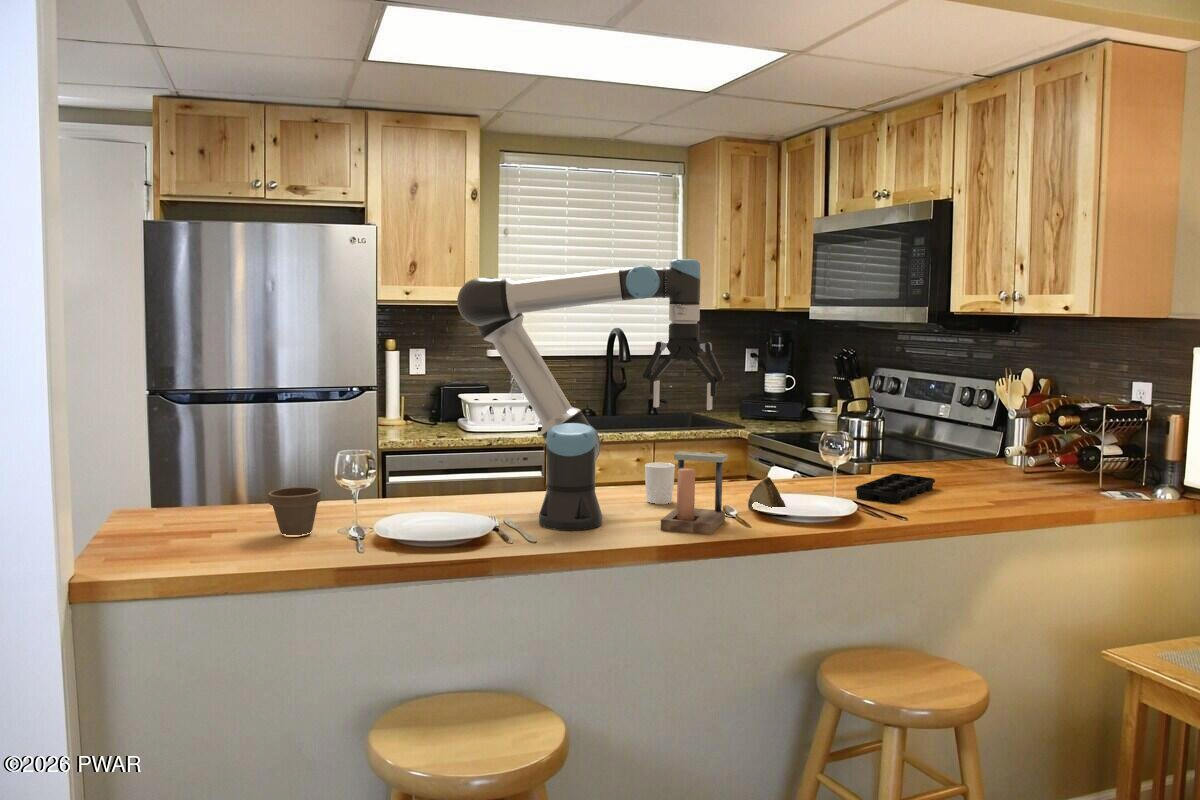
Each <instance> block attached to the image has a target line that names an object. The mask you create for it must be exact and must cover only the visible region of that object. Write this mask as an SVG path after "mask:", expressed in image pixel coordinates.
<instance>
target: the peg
mask: <svg viewBox="0 0 1200 800" xmlns="http://www.w3.org/2000/svg"><path fill="white" fill-rule="evenodd" d="M677 481H678V501H677V500H676V508H677V520H686V521H694V508H695V499H696V498H695V497H696V495H695V493H696V492H695V491H696V489H695V488H696V469H694V468H691V467H689V468H687V467H684V468H681V469H678V468H677Z"/></svg>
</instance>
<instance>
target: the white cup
mask: <svg viewBox="0 0 1200 800" xmlns="http://www.w3.org/2000/svg"><path fill="white" fill-rule="evenodd" d="M675 467H676V465H675V464H673V463H669V462H649V463H648V462H647V463H645V464H644V470H645V471H644V473H645V474H644V477H645V481H644V482H645V492H646V494H645V496H646V503H648V502H650V503H649V504H651V503H655V504H654V505H669V504H672V503H673V493H674V484H675ZM668 503H669V504H668Z"/></svg>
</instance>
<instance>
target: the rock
mask: <svg viewBox="0 0 1200 800" xmlns="http://www.w3.org/2000/svg"><path fill="white" fill-rule="evenodd" d="M754 502H758V503H760V504H763V505H765V506H768V507H771V508H772V507H786V508H787V506H786V503H785V502H784V499H783V498H782V497H781V494H780V492H779V490H778V488H777V486H776V484H775V483H774V482H773V480H772V478H771V477H770V476H768V475H766V476H765V478H763V479H762V480H760V482H759V483H758V484H757V485H755V486H754V487H753V490H752V491H751V493H750V495H749V499H748V501H747V504H748V505H747V507H748V509H749V510H751V511H754V512H757V513H760V512H759V511H755V510H754V509H753V507H752V504H753V503H754Z"/></svg>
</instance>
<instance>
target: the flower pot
mask: <svg viewBox="0 0 1200 800" xmlns="http://www.w3.org/2000/svg"><path fill="white" fill-rule="evenodd" d="M321 491H322V490H321V489H320V488H317V487H310V486H298V487H297V486H296V487H295V486H294V487H286V488H285V487H284V488H279V489H275V490H271V491H270V492H268V493H267V498H268V504H269V505H271V506H272V509H273V511H274V515H275V519H276V523H277V525H278V529H279V532H280V534H281V533H282V534H286V535H302V534H307V533H310V532H311V531H312V532H313V528H314V525H315V524H314V523H315V519H316V513H317V508H318V503H320V502H321V500H322V492H321ZM312 532H311V533H312Z"/></svg>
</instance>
